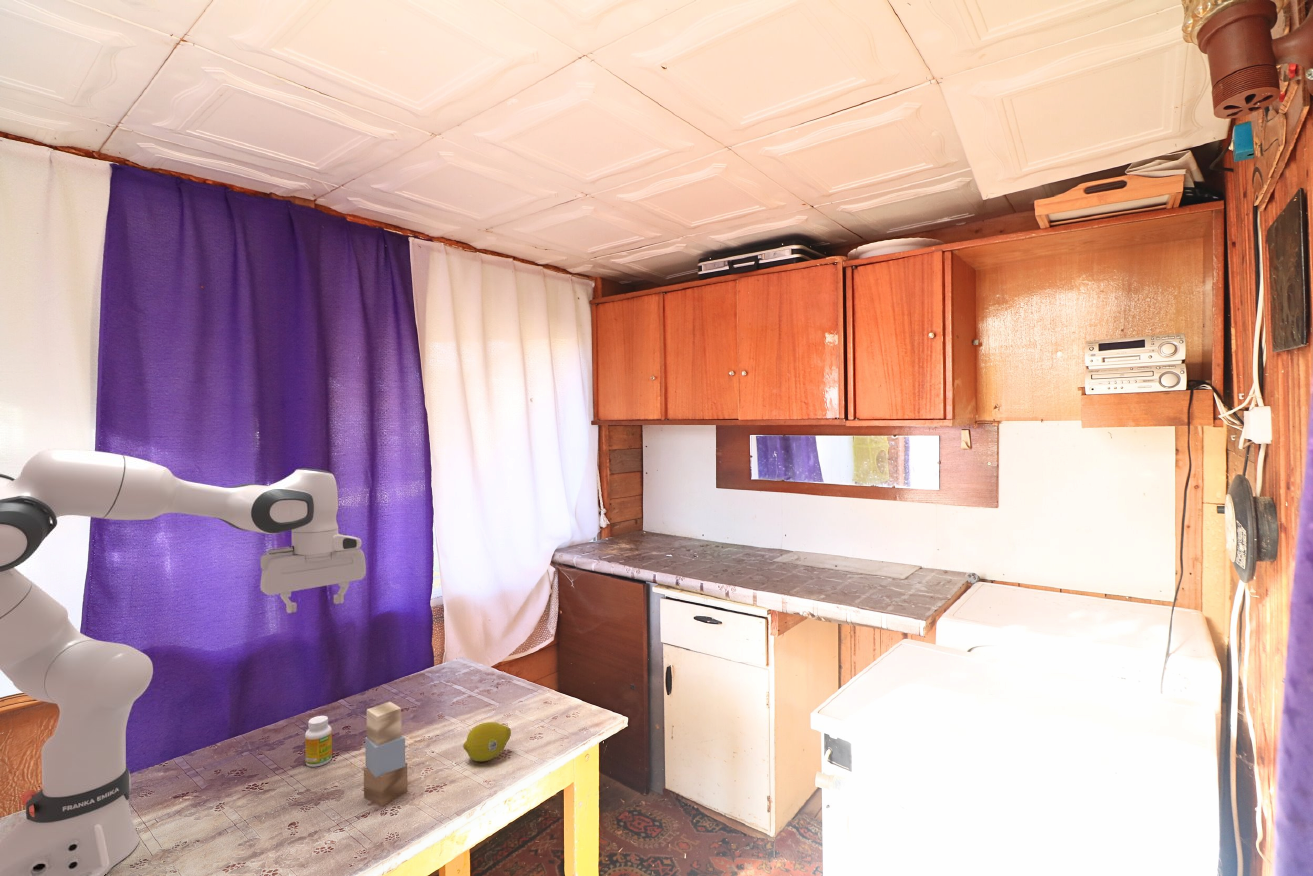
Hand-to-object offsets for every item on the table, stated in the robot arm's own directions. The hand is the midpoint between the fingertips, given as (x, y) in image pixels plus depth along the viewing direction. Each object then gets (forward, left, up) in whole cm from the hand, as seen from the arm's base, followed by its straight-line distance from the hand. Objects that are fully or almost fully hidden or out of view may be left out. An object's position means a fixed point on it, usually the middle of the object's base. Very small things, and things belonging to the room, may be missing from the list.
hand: (315, 607), depth 134 cm
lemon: (+30, -19, -39) cm, 52 cm away
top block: (+8, -15, -32) cm, 37 cm away
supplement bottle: (+4, +10, -39) cm, 40 cm away
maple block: (+8, -15, -26) cm, 31 cm away
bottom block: (+8, -15, -38) cm, 42 cm away
